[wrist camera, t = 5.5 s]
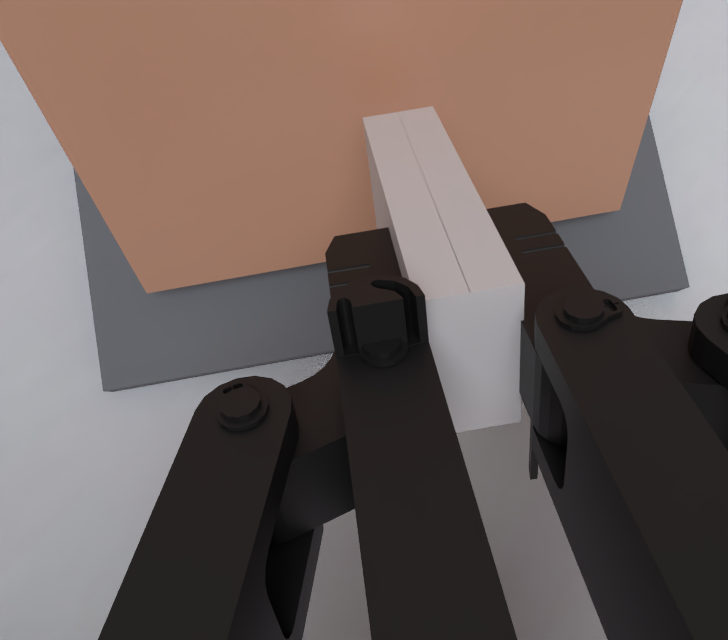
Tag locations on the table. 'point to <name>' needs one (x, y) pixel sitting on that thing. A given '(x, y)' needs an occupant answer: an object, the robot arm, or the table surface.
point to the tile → (327, 112)
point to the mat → (312, 294)
